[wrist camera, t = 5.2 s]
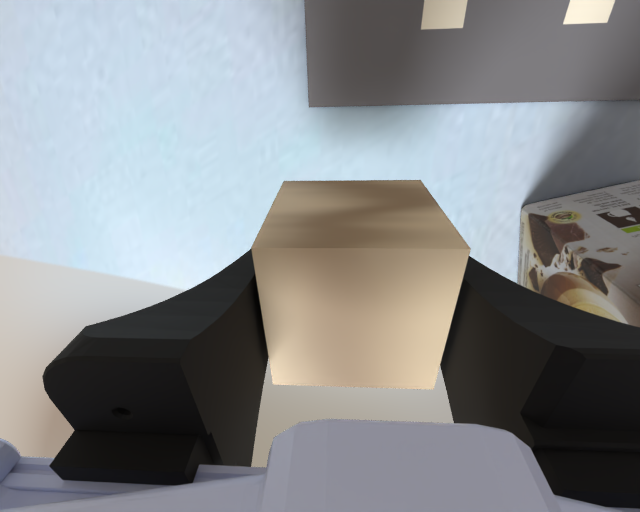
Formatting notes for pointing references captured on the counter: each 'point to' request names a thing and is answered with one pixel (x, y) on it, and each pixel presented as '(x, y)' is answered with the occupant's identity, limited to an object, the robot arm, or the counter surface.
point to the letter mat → (471, 51)
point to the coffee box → (585, 251)
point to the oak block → (357, 283)
